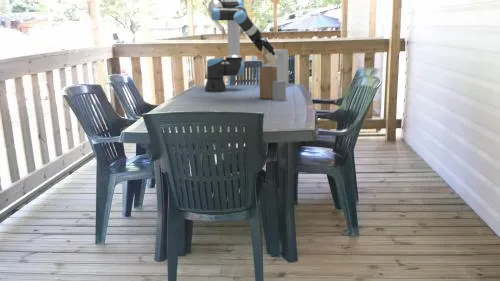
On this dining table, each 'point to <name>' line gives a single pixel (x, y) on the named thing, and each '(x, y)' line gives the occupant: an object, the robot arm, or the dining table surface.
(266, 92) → the block
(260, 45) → the robot arm
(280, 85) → the grey block
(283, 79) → the white tall box
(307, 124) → the dining table surface
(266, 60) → the oak block
